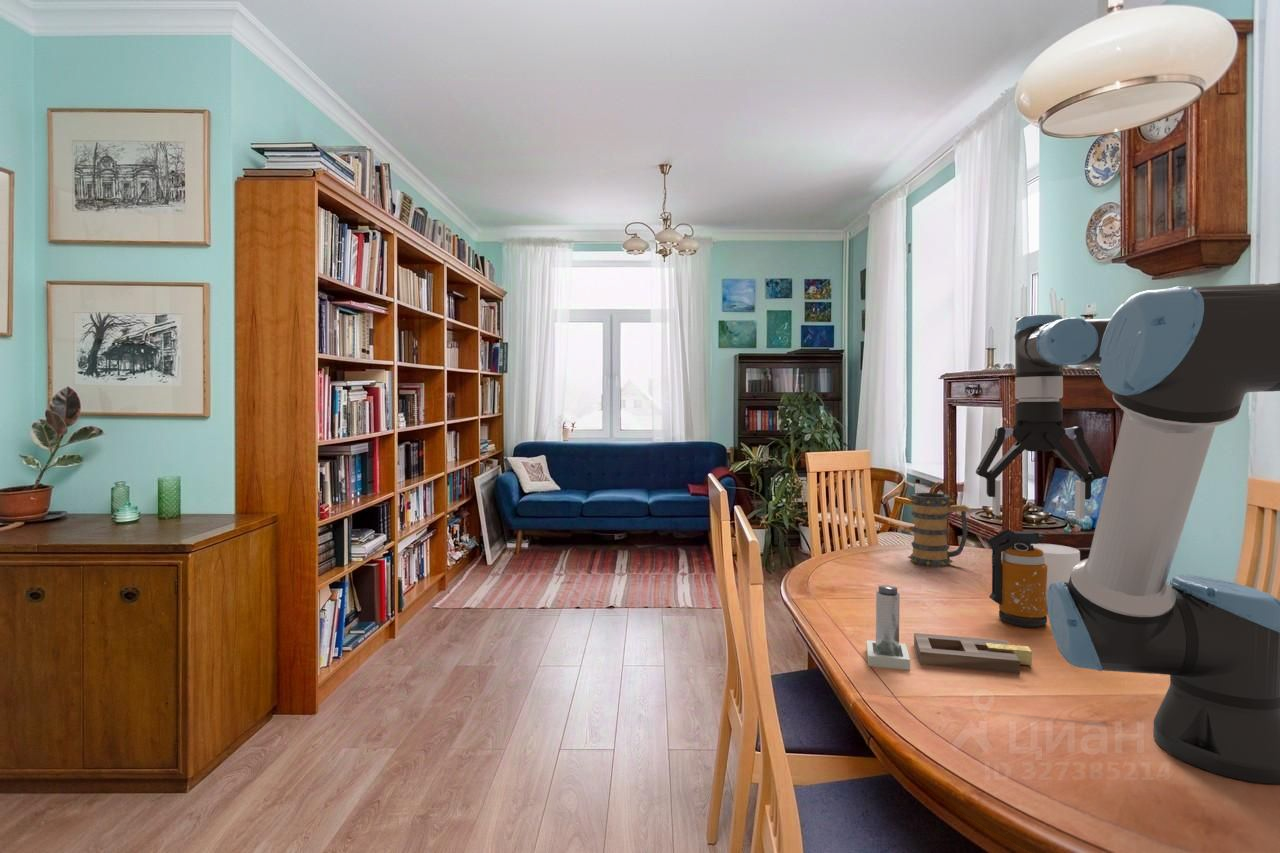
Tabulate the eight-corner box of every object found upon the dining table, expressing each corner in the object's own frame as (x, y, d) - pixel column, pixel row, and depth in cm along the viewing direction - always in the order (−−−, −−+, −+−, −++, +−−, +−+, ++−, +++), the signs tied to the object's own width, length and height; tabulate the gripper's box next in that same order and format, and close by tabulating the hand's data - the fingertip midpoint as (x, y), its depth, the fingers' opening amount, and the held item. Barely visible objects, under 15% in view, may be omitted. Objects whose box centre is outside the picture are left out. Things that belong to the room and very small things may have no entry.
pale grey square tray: (910, 673, 117) (910, 659, 117) (868, 669, 119) (868, 655, 119) (905, 656, 125) (905, 643, 125) (866, 653, 127) (866, 640, 127)
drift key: (1031, 665, 118) (1032, 651, 117) (988, 661, 120) (988, 647, 119) (1028, 660, 120) (1028, 646, 120) (985, 656, 122) (985, 642, 122)
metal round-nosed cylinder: (899, 662, 119) (900, 591, 119) (876, 660, 121) (876, 589, 120) (898, 654, 123) (898, 585, 123) (875, 652, 124) (875, 583, 124)
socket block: (1019, 677, 115) (1019, 660, 115) (920, 668, 119) (920, 651, 119) (1005, 656, 124) (1005, 640, 124) (914, 648, 129) (914, 632, 129)
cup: (1031, 603, 156) (1031, 553, 155) (1016, 589, 167) (1016, 542, 167) (1087, 606, 153) (1088, 555, 153) (1068, 592, 164) (1068, 544, 164)
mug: (909, 555, 205) (909, 491, 204) (971, 561, 196) (972, 494, 196) (903, 564, 193) (904, 496, 193) (969, 571, 185) (970, 500, 184)
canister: (1053, 630, 138) (1055, 534, 137) (996, 627, 140) (996, 533, 139) (1037, 616, 147) (1038, 526, 146) (983, 613, 149) (983, 525, 148)
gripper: (1109, 399, 121) (1107, 514, 122) (960, 401, 128) (959, 510, 129) (1126, 399, 114) (1124, 522, 115) (967, 401, 121) (966, 516, 122)
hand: (1037, 516), depth 122 cm, fingers open, 13 cm apart
